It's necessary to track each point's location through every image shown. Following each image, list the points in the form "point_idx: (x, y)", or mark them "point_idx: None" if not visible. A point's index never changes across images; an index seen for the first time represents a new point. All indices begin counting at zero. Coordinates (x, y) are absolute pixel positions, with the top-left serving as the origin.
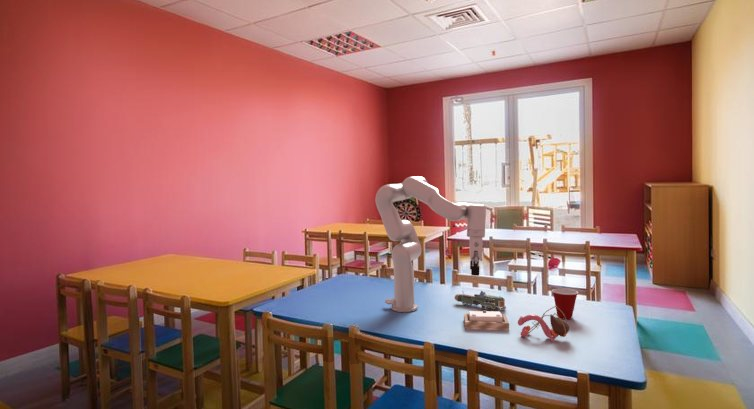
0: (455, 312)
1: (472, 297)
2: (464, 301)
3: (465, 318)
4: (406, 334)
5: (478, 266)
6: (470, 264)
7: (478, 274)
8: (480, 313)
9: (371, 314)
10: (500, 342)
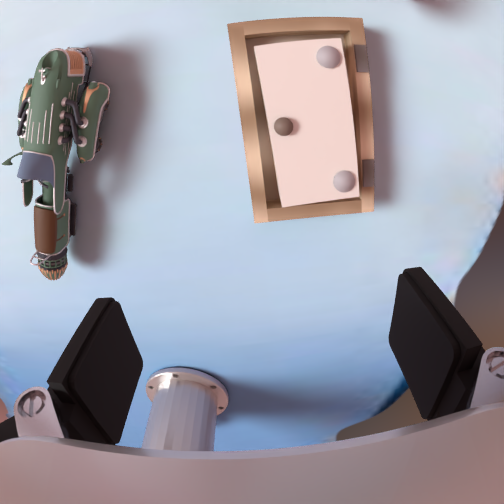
0: (166, 252)
1: (58, 208)
2: (66, 234)
3: (328, 212)
4: None
5: (498, 353)
6: (125, 408)
7: (423, 277)
8: (310, 147)
9: (261, 434)
10: (466, 83)
